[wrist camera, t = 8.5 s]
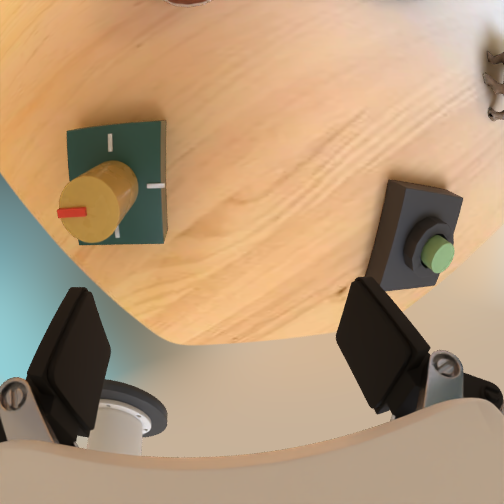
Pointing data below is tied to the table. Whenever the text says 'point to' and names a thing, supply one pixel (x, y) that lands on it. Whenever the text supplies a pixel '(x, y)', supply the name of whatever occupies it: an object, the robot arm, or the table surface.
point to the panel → (143, 165)
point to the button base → (411, 233)
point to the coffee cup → (187, 2)
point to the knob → (98, 201)
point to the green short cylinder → (437, 253)
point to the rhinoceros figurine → (495, 85)
